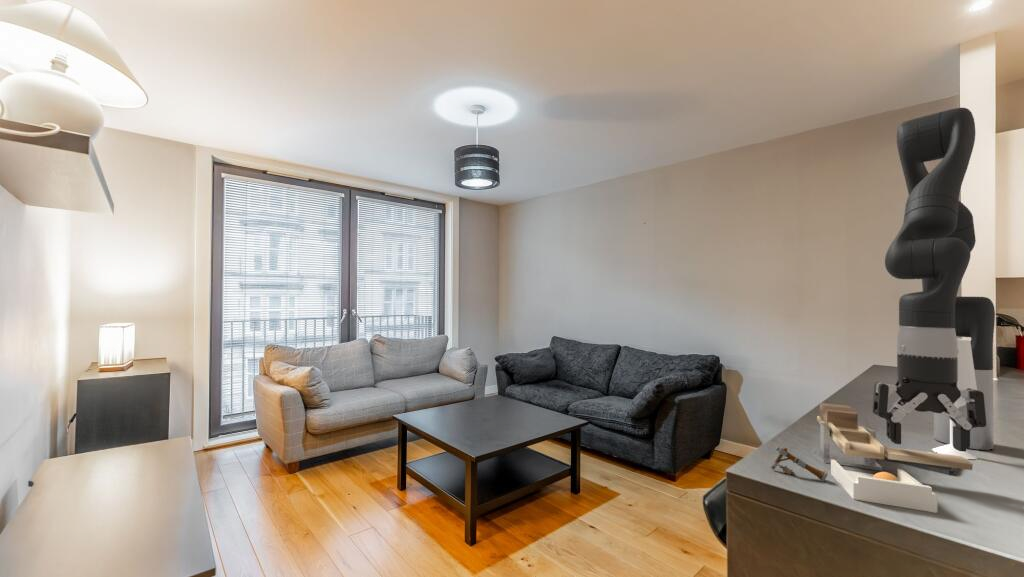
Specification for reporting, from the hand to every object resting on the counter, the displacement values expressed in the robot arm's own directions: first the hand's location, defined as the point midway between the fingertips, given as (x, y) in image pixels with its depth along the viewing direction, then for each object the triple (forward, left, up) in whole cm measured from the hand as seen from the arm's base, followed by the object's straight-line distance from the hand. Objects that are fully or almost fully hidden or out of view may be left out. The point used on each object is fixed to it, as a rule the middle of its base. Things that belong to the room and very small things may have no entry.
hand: (926, 446), depth 73 cm
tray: (+8, -10, -6) cm, 14 cm away
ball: (+11, -10, -4) cm, 15 cm away
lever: (-6, -4, -2) cm, 7 cm away
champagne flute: (-22, +13, -6) cm, 26 cm away
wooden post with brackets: (+7, -20, -7) cm, 22 cm away
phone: (-13, +1, -7) cm, 15 cm away
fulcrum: (-6, -10, -6) cm, 13 cm away
